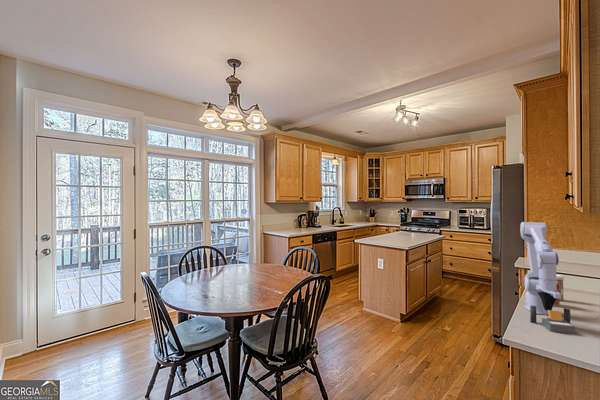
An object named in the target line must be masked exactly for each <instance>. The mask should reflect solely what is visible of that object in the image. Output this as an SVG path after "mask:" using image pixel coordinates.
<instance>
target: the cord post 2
mask: <svg viewBox="0 0 600 400" xmlns="http://www.w3.org/2000/svg"><path fill="white" fill-rule="evenodd" d="M563 319H565V320H566V321H567V322H568V323H570V324H571V309H570V308H563Z"/></svg>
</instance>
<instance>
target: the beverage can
mask: <svg viewBox="0 0 600 400" xmlns="http://www.w3.org/2000/svg"><path fill="white" fill-rule="evenodd" d="M556 285H557V291H558V292H559V284H558V282H556ZM560 303H561V301H560V299H557V300H556V301H555V303H554V305H553V307H557V306H559V305H560Z"/></svg>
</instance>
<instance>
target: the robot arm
mask: <svg viewBox="0 0 600 400" xmlns="http://www.w3.org/2000/svg"><path fill="white" fill-rule="evenodd" d="M519 229H520V237H521V239H522V240H524V241H525V243H526V246H527V253H528V261H529V269H530V272H528V273H527V274H525V275H524V277H523V278H524V283H523V285H524V289H525V291H526V293H525V305H523V307H524V308H525V309H526V310H528V311H529V312H530V306H531V305H532V306H536V315H545V316H546V315H547V316H549V314H548V310H552V311H553V307H554V306H553V305H554V303H555V301H556V300H557V299H561V294H560V293H559V292H558V291H557V285H556V275H557V266H558V265H559V261H560V258H559V254H558V252H557V251H555V250H553V247H552V245H551V243H550V242H549V241H548V240H546V236H547V234H548V233H547V232H548V226H547V223H545V222H534V221H529V222H528V221H527V222H526V221H522V222H521V223H520V227H519Z"/></svg>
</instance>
